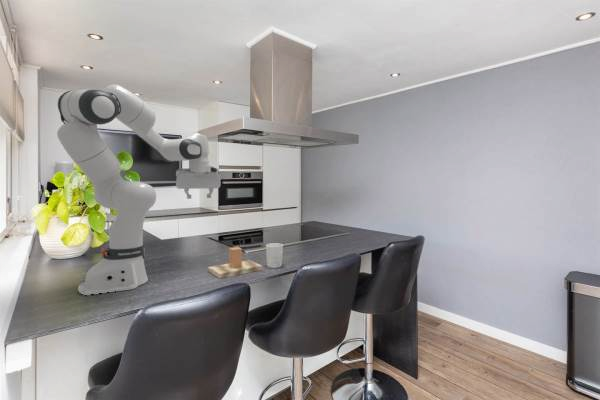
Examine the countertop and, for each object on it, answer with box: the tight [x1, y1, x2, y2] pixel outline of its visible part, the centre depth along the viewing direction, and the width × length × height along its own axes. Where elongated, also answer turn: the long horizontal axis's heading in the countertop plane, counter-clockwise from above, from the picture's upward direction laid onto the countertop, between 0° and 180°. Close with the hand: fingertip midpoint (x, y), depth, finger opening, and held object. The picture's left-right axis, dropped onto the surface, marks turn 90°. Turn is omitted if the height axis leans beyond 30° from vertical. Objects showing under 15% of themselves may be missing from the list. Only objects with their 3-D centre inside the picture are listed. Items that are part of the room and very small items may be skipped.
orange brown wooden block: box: [228, 246, 243, 268], centre depth 132 cm, size 4×4×8 cm
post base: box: [207, 259, 263, 280], centre depth 132 cm, size 20×12×9 cm, turn 129°
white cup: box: [265, 242, 284, 269], centre depth 140 cm, size 8×8×10 cm
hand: (199, 198), depth 142 cm, fingers open, 8 cm apart
